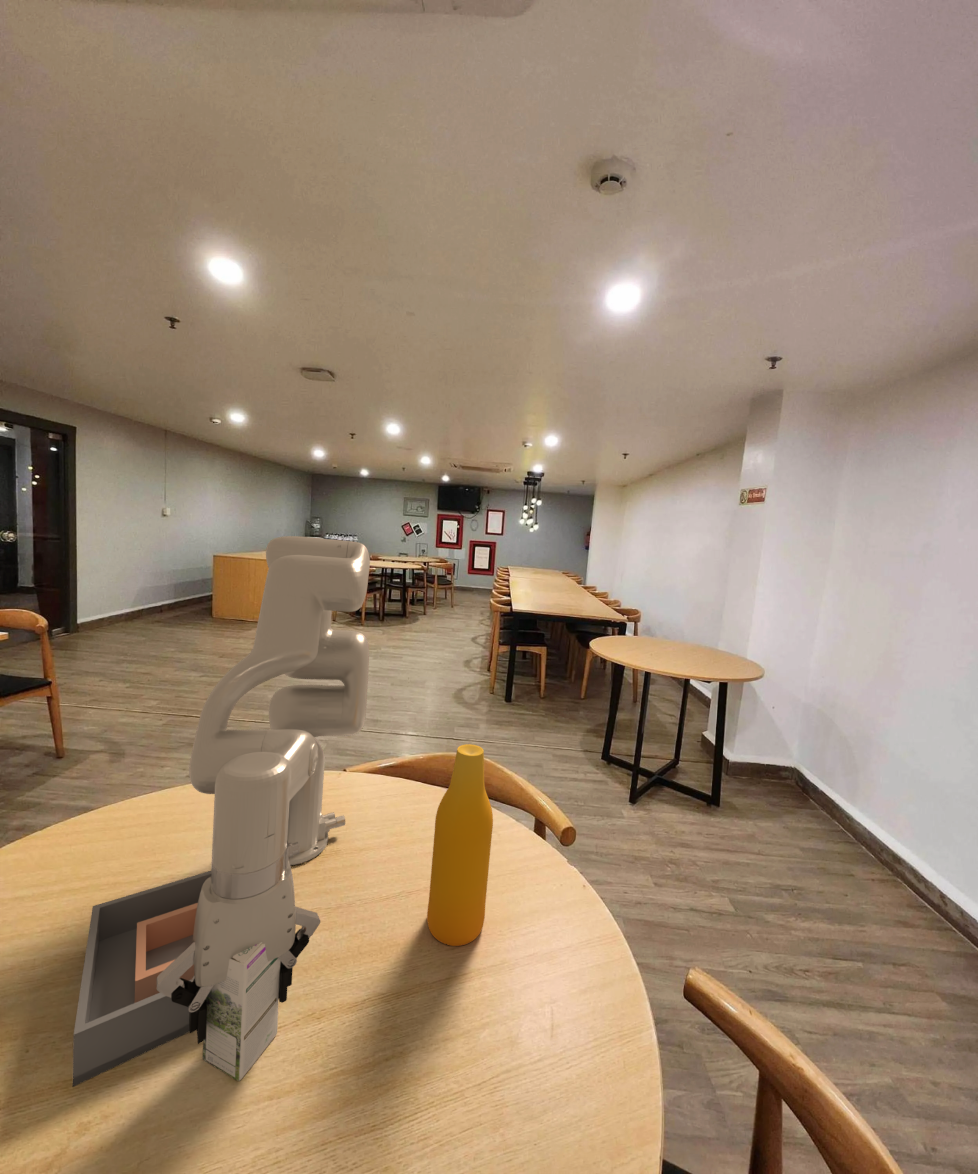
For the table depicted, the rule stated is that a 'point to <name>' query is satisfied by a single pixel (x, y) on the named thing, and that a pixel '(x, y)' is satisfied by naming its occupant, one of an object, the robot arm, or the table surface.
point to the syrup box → (242, 1012)
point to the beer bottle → (461, 853)
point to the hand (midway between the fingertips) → (242, 1010)
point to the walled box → (132, 976)
